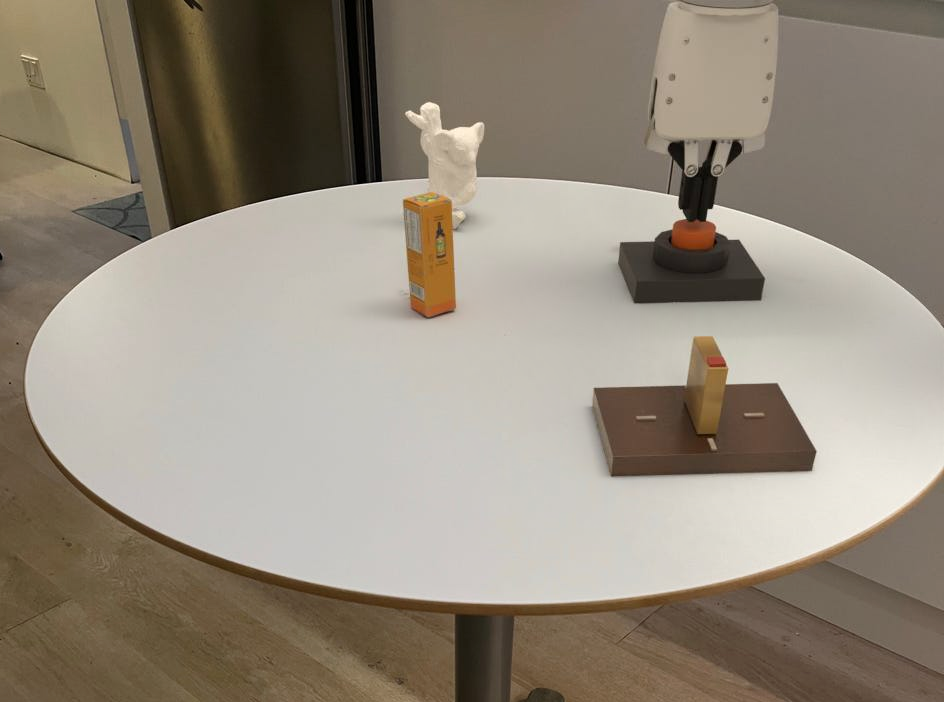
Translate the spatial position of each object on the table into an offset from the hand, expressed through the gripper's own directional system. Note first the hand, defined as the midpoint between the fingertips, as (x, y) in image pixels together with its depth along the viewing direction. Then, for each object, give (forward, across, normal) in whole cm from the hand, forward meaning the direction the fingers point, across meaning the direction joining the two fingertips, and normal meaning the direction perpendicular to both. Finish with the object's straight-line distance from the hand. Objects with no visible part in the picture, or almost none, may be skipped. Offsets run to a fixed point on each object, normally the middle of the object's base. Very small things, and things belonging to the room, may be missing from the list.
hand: (693, 216), depth 95 cm
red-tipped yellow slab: (+3, +6, +32) cm, 33 cm away
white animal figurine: (+7, +23, -18) cm, 30 cm away
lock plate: (+6, +6, +32) cm, 33 cm away
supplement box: (+6, +25, +5) cm, 26 cm away
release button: (+3, 0, 0) cm, 3 cm away
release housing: (+6, 0, 0) cm, 6 cm away
